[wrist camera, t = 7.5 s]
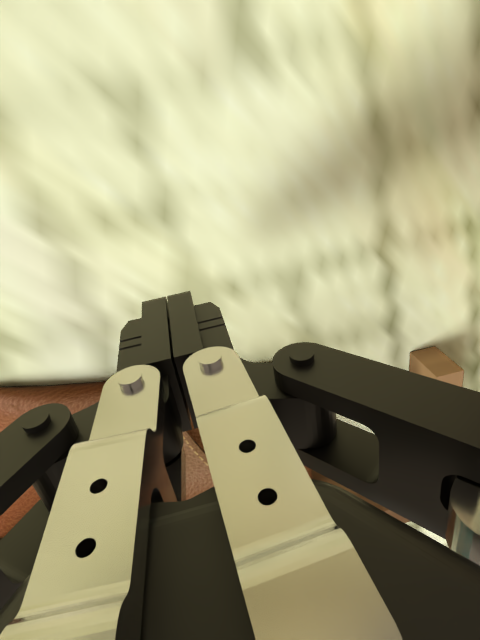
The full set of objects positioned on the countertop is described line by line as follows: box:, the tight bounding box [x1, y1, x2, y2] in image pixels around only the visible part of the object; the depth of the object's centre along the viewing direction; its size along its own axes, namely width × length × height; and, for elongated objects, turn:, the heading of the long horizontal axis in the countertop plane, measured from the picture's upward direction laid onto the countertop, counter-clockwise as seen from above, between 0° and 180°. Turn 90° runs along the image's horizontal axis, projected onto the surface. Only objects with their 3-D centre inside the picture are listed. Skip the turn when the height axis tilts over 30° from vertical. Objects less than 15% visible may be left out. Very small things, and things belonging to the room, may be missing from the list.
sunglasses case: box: [0, 381, 313, 540], centre depth 22 cm, size 18×7×7 cm
